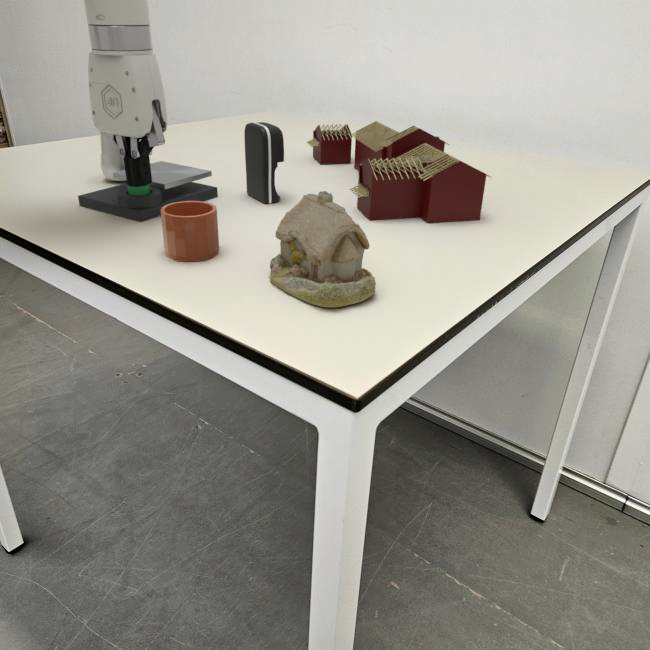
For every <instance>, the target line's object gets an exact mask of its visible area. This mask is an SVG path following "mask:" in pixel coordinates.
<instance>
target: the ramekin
mask: <svg viewBox="0 0 650 650" xmlns="http://www.w3.org/2000/svg"><path fill="white" fill-rule="evenodd" d="M160 219H161V229H162V238H163V247H164V248H163V249H164V253H165V256H166V257H167V258H169V259H171V260H173V261H176V262H184V263H185V262H186V263H191V262H195V263H196V262H202V261H206V260H209V259H212V258H215V257H216V256H218V255H219V253H220V239H219V223H218V222H219V221H218V209H217V205H215V204H213V203H211V202H206V201H181V202H174V203H171V204H167V205H165V206H163V207H162V208H161V216H160Z"/></svg>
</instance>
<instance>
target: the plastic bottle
mask: <svg viewBox="0 0 650 650" xmlns="http://www.w3.org/2000/svg"><path fill="white" fill-rule="evenodd" d="M99 133H100V151H101V153H100V169H101V172H102V175H103V176H104V177H105V179H107V180H109V181H113V182H114V181H115V182H127V181H126V180H121V179H117V178H114V177H113V173H114V172H118V171H122V170H125V166H124V159H123V157H125V156H121V155H120V153H119V149H118V146H117V144H116V143H115V141H113V140H111V139H109V138H107V137H106V136H105V135H104V132H101V131H99Z"/></svg>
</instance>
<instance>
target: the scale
mask: <svg viewBox="0 0 650 650" xmlns="http://www.w3.org/2000/svg"><path fill="white" fill-rule="evenodd" d="M218 196H219V193H218V186H213V185H208V184H204V183H199V182H196V181H193V182H189V183H186V184H182V185H179V186H175V187H172V188H168V189H161V188H156V187H152V186H150V194H147V195H139V196H137V195H129V193H128V186H127V182H126V183H125V182H124V183H121V184H118V185H114V186H110V187H107V188H102V189H99V190H95V191H91V192H86V193H83V194H80V195H77V198H78V204H79V207H83V208H85V209H90V210H94V211H97V212H101V213H104V214H108V215H112V216H116V217H118V218H119V217H120V218H124V219H127V220H130V221H134V222H138V223H142V222H146V221H149V220H151V219H155V218H158V217H161V208H162V207H163V206H165V205H167V204H171V203H174V202H181V201H203V202H206V201H210V200H212V199H216V198H218Z"/></svg>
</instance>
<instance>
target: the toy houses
mask: <svg viewBox="0 0 650 650" xmlns="http://www.w3.org/2000/svg"><path fill="white" fill-rule="evenodd" d="M353 138H355V143H354V144H355V145H354V161H353V162H354V164H353V168H354V169H355V170H357V171H358V179H357V180H358V182H357V185H355V186H353V187H350V188H349V191H351V192H352V193H353V194H354V196H356V197H357V201H356V208H357V210H359V212H360V213H362V215H364V217H366V219H368V220H369V221H378V220H397V219H412V218H413V219H416V218H420V219H422V220H423V221H424V222H426V224H431V223H432V224H433V223H449V222H451V223H452V222H464V221H465V222H466V221H480V219H481V214H482V206H483V201H484V195H485V188H486V182H487V177H488V178H489V179H492V177H493V176H491V175H489V174H488V173H485V172H484V171H481V170H480V169H477V168H475V167H474V166H471V165H470V164H468V163H466V162H465V161H462V160H460V159H458V158H456V157H454V156H452V155H451V154H448V153H447V152H445V144H446V145H447V146H450V143H448V142H446V141H445V140H442V139H441V138H440V137H439V136H437V135H436V136H435V135H434V134H431V133H429V132H427V131H426V130H424V129H422V128H420V127H418V126H416V125H412V126H410V127H408V128H406V129H404V130H402V131H399V132H398V131H397V130H396V129H393V128H391V127H389V126H387V125H385V124H383V123H382V122H379V121H377V120H375V121H374V122H371V123H369V124H367V125H365V126H364V127H362V128H359V129H357V130H355V132H353V133H352V132H351V129H350V126H349V124H348V123H344V124H342V123H341V124H340V123H339V124H337V123H336V124H335V125H334V124H331V125H330V124H322V126H320V124H318V125H317V126H316V127H315V129H314V130H313V131H312V138H311V139H310V140H308V141H306V144H308V145H309V146H310V147H311V148H312V158H313V159H314V160H315V161H316V162H317V163H318V164H320V165H338V164H339V165H343V164H347V165H348V164H352V163H351V162H352V161H351V160H352V140H353Z"/></svg>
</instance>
